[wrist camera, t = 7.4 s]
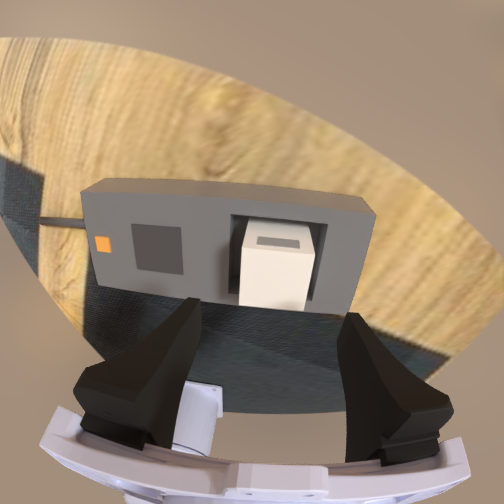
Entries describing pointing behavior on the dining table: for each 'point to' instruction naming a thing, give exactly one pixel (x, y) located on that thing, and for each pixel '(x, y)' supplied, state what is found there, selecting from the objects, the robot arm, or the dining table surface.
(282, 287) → the plug
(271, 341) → the dining table surface
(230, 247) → the power strip
